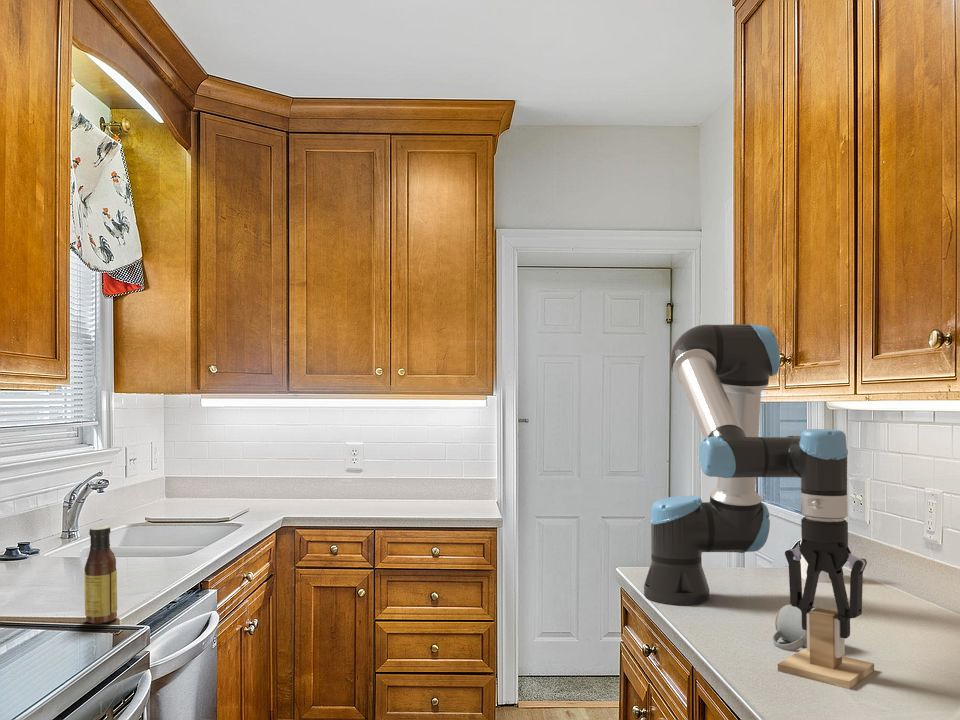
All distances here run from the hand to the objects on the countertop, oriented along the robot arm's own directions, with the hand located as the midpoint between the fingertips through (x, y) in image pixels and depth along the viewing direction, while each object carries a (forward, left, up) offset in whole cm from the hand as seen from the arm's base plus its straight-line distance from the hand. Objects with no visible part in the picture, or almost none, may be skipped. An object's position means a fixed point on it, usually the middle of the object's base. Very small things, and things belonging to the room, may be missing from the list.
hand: (825, 652), depth 141 cm
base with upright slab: (-69, -28, -4) cm, 75 cm away
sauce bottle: (+75, -123, -4) cm, 144 cm away
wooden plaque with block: (0, 0, -3) cm, 3 cm away
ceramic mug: (-11, -9, -4) cm, 15 cm away
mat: (0, 0, -4) cm, 4 cm away
